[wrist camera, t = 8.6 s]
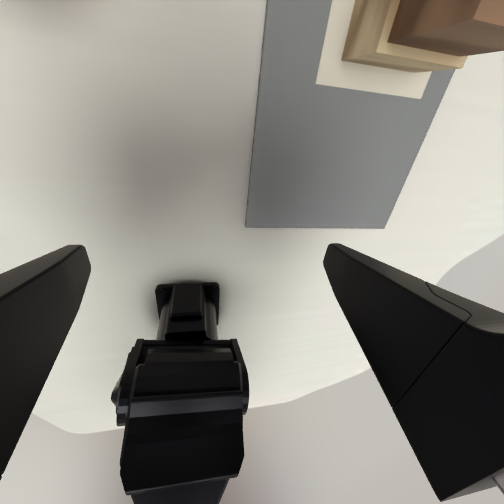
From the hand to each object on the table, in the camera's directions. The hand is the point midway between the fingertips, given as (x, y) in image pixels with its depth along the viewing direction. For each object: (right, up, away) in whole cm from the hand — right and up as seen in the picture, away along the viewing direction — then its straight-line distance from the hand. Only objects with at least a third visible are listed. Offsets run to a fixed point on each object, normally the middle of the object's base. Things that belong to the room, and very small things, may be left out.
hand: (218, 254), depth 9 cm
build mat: (+9, +12, +9) cm, 18 cm away
